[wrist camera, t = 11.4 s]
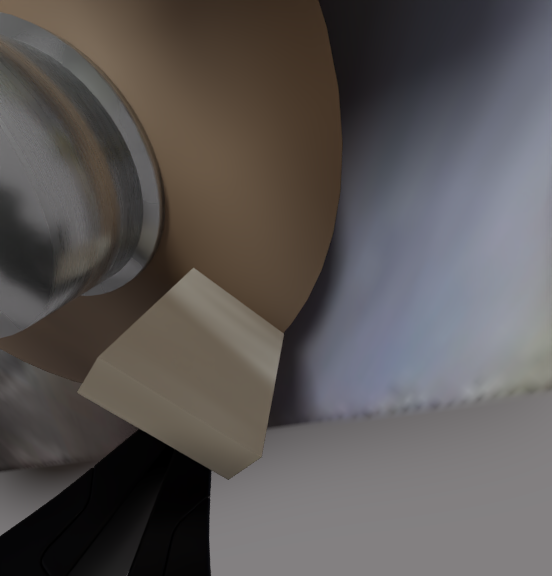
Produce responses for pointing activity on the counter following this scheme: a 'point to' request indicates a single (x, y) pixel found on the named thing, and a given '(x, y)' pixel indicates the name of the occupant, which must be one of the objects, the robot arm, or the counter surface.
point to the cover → (68, 179)
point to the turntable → (205, 214)
